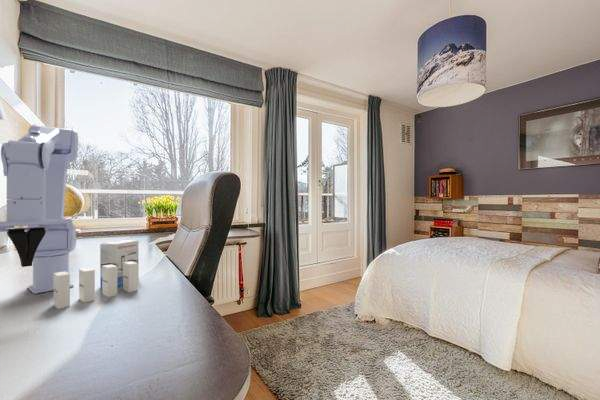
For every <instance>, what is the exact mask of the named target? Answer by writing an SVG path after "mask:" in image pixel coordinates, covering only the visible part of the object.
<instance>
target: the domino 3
mask: <svg viewBox="0 0 600 400" xmlns="http://www.w3.org/2000/svg"><path fill="white" fill-rule="evenodd" d="M101 288H102V289H101V290H102V291H101V292H102V293H101V294H102V296H105V297H107V298H110V297H115V296H118V287H117V266H115V265H112V264H110V265H103V266H102V287H101Z"/></svg>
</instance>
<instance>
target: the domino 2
mask: <svg viewBox="0 0 600 400" xmlns="http://www.w3.org/2000/svg"><path fill="white" fill-rule="evenodd" d="M95 274H96V273H95V269H93V268H91V267H84V268H78V300H79V301H81V302H82V303H88V302H93V301H95V299H96V296H95V295H96V294H95V293H96V291H95V287H96V285H95V284H96V283H95V279H96V278H95V277H96V275H95Z"/></svg>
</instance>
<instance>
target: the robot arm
mask: <svg viewBox="0 0 600 400" xmlns="http://www.w3.org/2000/svg"><path fill="white" fill-rule="evenodd" d="M78 149H79V136H78V132H77V130H76V129H75V128H63V127H53V126H43V125H36V124H32V125H31V126H29V127H28V131H27V133H26V134H24V136H22V137H21V138H19V139H18V140H8V141H7V142H3V143H2V144H1V147H0V159H1V163H2V167H3V170H2V171H3V176H4V177H6V221H4V220H3V221H0V232H1V233H2V232H3V233H4V232H5V233H6V235H7V237H9V239H10V240H11V243H12V244H13V246H14V248H15V249H16V251H17V254H18V257H19V260H20V266H21V267H22V268H25V267H32V284H29V285H27V288H28V289H29V290H30V291H31V293H32V294H36V295H37V294H40V293H46V292H51V291H54V273H58V272H64V271H65V272H67V273H69V274H70V253H71V252H73V251H74V250H75V248H76V247H77V232H76V228H77V227H76V225H75V223H74V222H73V219H72V218H65V217H64V216H65V202H66V189H67V188H66V187H67V172H68V169H69V165H70V163H73V162H75V161H77V157H78V152H79V151H78ZM19 226H21V227H19ZM25 226H26V227H25ZM72 287H75V285H74V284H73V283H72V281H70V288H72Z"/></svg>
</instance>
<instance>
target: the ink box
mask: <svg viewBox="0 0 600 400" xmlns="http://www.w3.org/2000/svg"><path fill="white" fill-rule="evenodd" d="M99 245H100V246H99V248H100V249H99V260H100V261H99V264H100V265H99V267H100V274H99V275H100V288H102V266H103V265H110V264H112V265H115V266H117V288H118V287H121V286H122V287H123V262H129V261H133V262H136V263H138V264H139V240H137V239H121V240H114V241H106V242H102V243H100V244H99Z"/></svg>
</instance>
